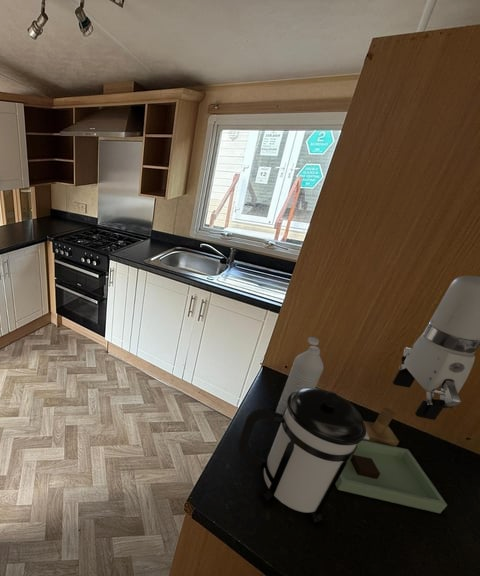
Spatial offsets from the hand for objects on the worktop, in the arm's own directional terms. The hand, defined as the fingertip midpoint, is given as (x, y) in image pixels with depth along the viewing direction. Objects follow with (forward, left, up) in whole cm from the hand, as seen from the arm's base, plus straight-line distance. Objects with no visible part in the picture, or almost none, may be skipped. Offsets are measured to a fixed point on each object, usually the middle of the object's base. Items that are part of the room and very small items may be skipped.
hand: (411, 400), depth 69 cm
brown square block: (+4, +4, -20) cm, 21 cm away
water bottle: (+17, -10, -21) cm, 29 cm away
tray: (+2, +4, -21) cm, 21 cm away
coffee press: (+24, +14, -21) cm, 35 cm away
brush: (-3, -7, -21) cm, 22 cm away
